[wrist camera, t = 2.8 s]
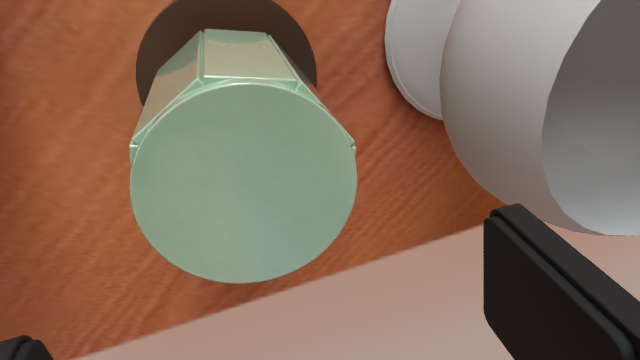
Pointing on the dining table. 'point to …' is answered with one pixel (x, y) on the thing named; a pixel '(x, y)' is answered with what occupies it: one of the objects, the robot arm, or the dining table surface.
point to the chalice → (532, 100)
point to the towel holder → (223, 14)
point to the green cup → (239, 161)
